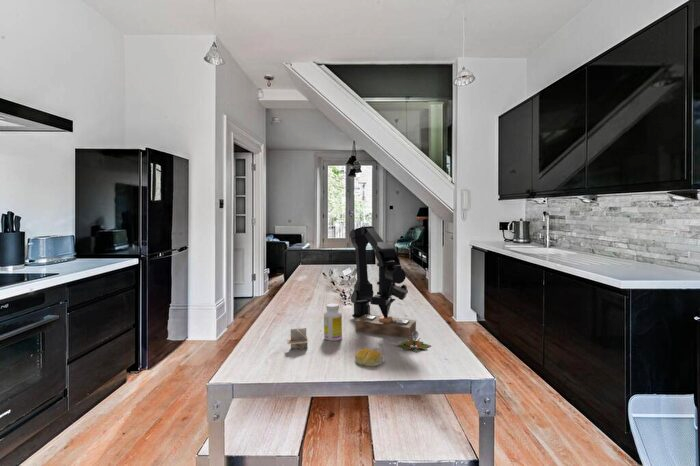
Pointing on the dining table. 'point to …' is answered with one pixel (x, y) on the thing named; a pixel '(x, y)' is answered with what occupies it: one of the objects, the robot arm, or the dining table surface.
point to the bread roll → (369, 357)
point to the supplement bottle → (332, 323)
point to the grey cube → (369, 317)
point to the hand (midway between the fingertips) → (385, 317)
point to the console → (386, 327)
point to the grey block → (402, 322)
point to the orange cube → (385, 319)
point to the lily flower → (412, 342)
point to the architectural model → (298, 338)
